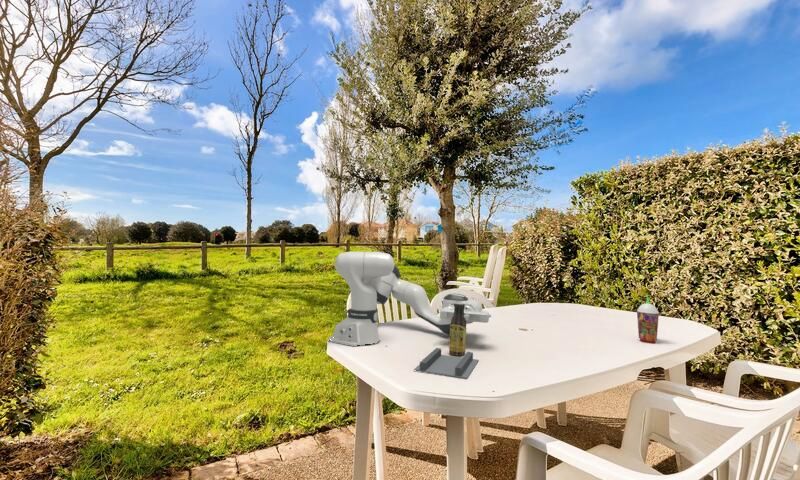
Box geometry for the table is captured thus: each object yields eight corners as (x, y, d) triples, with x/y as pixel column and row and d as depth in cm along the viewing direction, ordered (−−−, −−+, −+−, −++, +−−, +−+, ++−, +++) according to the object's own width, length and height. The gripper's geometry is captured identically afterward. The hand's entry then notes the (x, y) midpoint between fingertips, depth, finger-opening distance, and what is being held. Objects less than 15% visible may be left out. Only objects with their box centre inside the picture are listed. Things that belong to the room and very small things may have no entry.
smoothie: (640, 343, 162) (640, 298, 163) (634, 338, 170) (634, 295, 171) (662, 344, 160) (662, 299, 160) (654, 340, 168) (655, 296, 168)
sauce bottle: (446, 355, 141) (447, 303, 141) (452, 351, 146) (452, 301, 147) (463, 357, 138) (463, 304, 138) (468, 353, 143) (468, 302, 144)
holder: (413, 371, 122) (413, 362, 122) (431, 354, 141) (431, 347, 141) (467, 379, 115) (467, 369, 115) (478, 361, 134) (478, 352, 134)
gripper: (492, 322, 155) (486, 329, 142) (445, 318, 163) (436, 324, 150) (492, 307, 155) (486, 312, 142) (445, 304, 163) (436, 308, 150)
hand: (460, 318), depth 146 cm, fingers closed
